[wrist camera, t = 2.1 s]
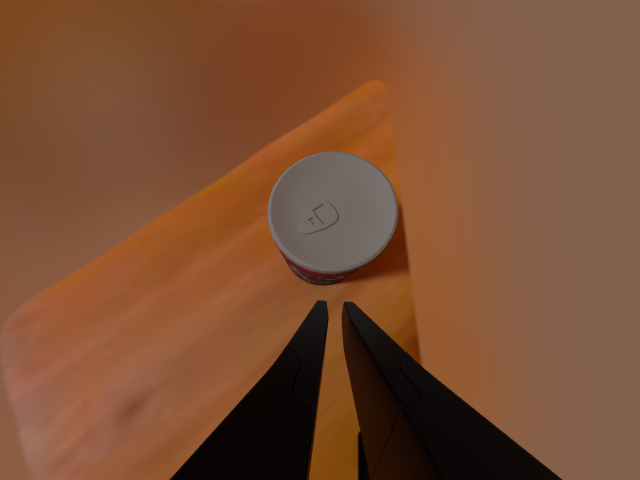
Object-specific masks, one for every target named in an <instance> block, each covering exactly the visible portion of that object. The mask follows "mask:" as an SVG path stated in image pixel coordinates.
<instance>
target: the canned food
mask: <svg viewBox="0 0 640 480" xmlns="http://www.w3.org/2000/svg"><path fill="white" fill-rule="evenodd" d="M397 220H398V202H397V198H396V193H395V191H394V189H393V187H392V185H391V182H390V181H389V180H388V178H387V177H386V176H385V174H384V173H383V172H382V171H381V170H380V169H379V168H378V167H376V166H375V165H374V164H372V163H371V162H369V161H368V160H366V159H364V158H361V157H359V156H356V155H353V154H349V153H345V152H324V153H318V154H314V155H311V156H308V157H306V158H304V159H302V160H300V161H297V162H296V163H295V164H293V165H292V166H291V167H289V168H288V169H287V170H286V171H285V172H284V173H283V174H282V175H281V176H280V178H279V179H278V181H277V182H276V184H275V186H274V187H273V190H272V193H271V195H270V198H269V204H268V222H269V227H270V230H271V234H272V237H273V239H274V241H275V243H276V245H277V247H278V248H279V250H280V252H281V254H282V255H283V257H284V259H285V260H286V262H287V264H288V265H289V267H290V269H291V270H292V271H293V272H294V274H295V275H296V276H297V277H299V278H300V279H301V280H303V281H305V282H307V283H309V284H314V285H324V286H325V285H331V284H335V283H337V282H340V281H342V280H343V279H345V278H346V277H348V276H350V275H351V274H353V273H354V272H356V271H357V270H359V269H361V268H362V267H364V266H365V265H367V264H368V263H369V262H371V261H372V260H373V259H375V258H376V257H377V256H378V255H379V254H380V253H381V252H382V251H383V249H384V248H385V247H386V245H387V244H388V242H389V241H390V240H391V238H392V236H393V233H394V231H395V229H396V225H397Z"/></svg>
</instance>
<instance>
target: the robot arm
mask: <svg viewBox="0 0 640 480" xmlns="http://www.w3.org/2000/svg"><path fill="white" fill-rule="evenodd" d="M327 328H328V309H327V302H326V301H319V300H318V301H317V302H316V303H315V305H314V306H313V308H312V309H311V311H310V312H309V314H308V315H307V317H306V318H305V320H304V321H303V323H302V324H301V326H300V327H299V328H298V330H297V331H296V333H295V334H294V336H293V337H292V339H291V340H290V342H289V343H288V345H287V346H286V347H285V349H284V350H283V351H282V353H281V354H280V356H279V357H278V358H277V360H276V361H275V362H274V364H273V365H272V366H271V367H270V369H269V370H268V371H267V372H266V373H265V374H264V376H263V377H262V378H261V379H260V380H259V381H258V382H257V383H256V384H255V385H254V387H253V388H252V389H251V390H250V391H249V392H248V393H247V394H246V395H245V397H244V398H243V399H242V400H241V401H240V402H239V403H238V404H237V405H236V407H235V408H234V409H233V410H232V411H231V412H230V413H229V414H228V415H227V417H226V418H225V419H224V420H223V421H222V422H221V423H220V424H219V425H218V427H217V428H216V429H215V430H214V431H213V432H212V433H211V434H210V435H209V437H208V438H207V439H206V440H205V441H204V442H203V443H202V444H201V445H200V447H199V448H198V449H197V450H196V451H195V452H194V453H193V454H192V455H191V457H190V458H189V459H188V460H187V461H186V462H185V463H184V464H183V465H182V467H181V468H180V469H179V470H178V471H177V472H176V473H175V474H174V475H173V477H172V478H171V479H170V480H309V474H310V466H311V458H312V450H313V442H314V434H315V426H316V418H317V410H318V402H319V394H320V386H321V378H322V370H323V362H324V354H325V346H326V337H327ZM342 333H343V346H344V353H345V358H346V363H347V368H348V373H349V378H350V382H351V387H352V392H353V397H354V402H355V407H356V411H357V416H358V421H359V426H360V432H359V434H358V480H562V479H561V478H560V477H558V476H557V475H556V474H555V473H553V472H552V471H551V470H550V469H548V468H547V467H546V466H545V465H543V464H542V463H541V462H540V461H538V460H537V459H536V458H535V457H533V456H532V455H531V454H530V453H528V452H527V451H526V450H525V449H523V448H522V447H521V446H519V445H518V444H517V443H516V442H515V441H513V440H512V439H511V438H509V437H508V436H507V435H506V434H505V433H503V432H502V431H501V430H500V429H499V428H497V427H496V426H495V425H493V424H492V423H491V422H490V421H489V420H487V419H486V418H485V417H483V416H482V415H481V414H480V413H478V412H477V411H476V410H475V409H474V408H472V407H471V406H470V405H469V404H467V403H466V402H465V401H463V400H462V399H461V398H460V397H458V396H457V395H456V394H455V393H454V392H452V391H451V390H450V389H449V388H447V387H446V386H445V385H444V384H442V383H441V382H440V381H439V380H437V379H436V378H435V377H434V376H433V375H431V374H430V373H429V372H428V371H427V370H425V369H424V368H423V367H422V366H421V365H420V364H419V363H418V362H416V361H415V360H414V359H413V358H412V357H411V356H410V355H409V354H408V353H407V352H404V350H403V349H402V348H401V347H400V346H399V345H398V344H397V343H396V342H395V341H394V340H392V339H391V338H390V337H389V336H388V335H387V334H386V333H385V332H384V331H383V330H382V329H381V328H380V327H379V326H378V325H377V324H376V323H374V322H373V321H372V320H371V319H370V318H369V317H368V316H367V315H366V314H365V313H364V312H363V311H362V310H361V309H360V308H359V307H358V306H356V305H355V304H354V303H353V302H344V304H343V310H342ZM362 440H363V441H362Z"/></svg>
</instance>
